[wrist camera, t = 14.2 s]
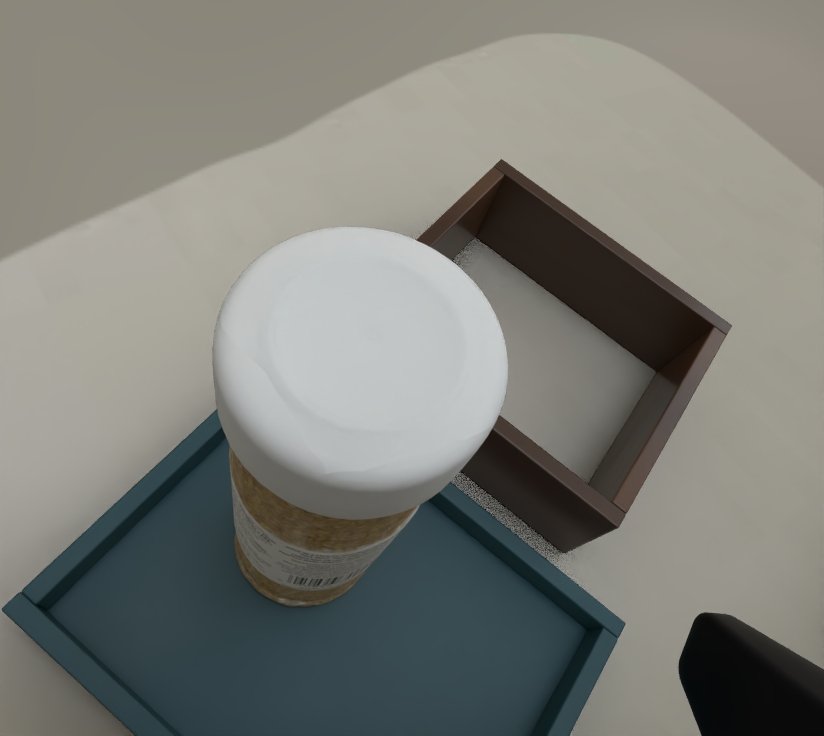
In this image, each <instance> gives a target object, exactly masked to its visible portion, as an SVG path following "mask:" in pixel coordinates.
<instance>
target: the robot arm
mask: <svg viewBox="0 0 824 736" xmlns="http://www.w3.org/2000/svg"><path fill="white" fill-rule="evenodd" d="M679 676H680V680H681V683H682V686H683V688H684V691H685V693H686V696H687V699H688V701H689V704H690V706H691V709H692V712H693V714H694V717H695V720H696V722H697V725H698V727H699V730H700V733H701V735H702V736H824V670H823V669H822V668H820V667H818V666H817V665H815V664H813V663H812V662H810V661H808V660H806V659H805V658H803V657H801V656H800V655H798V654H796V653H795V652H793V651H791V650H789V649H788V648H786V647H784V646H783V645H781V644H779V643H778V642H776V641H774V640H772V639H771V638H769V637H767V636H766V635H764V634H762V633H761V632H759V631H757V630H755V629H754V628H752V627H750V626H749V625H747V624H745V623H744V622H742V621H740V620H738V619H737V618H735V617H733V616H731V615H727V614H718V613H707V612H705V613H701V614H699V615H698V616H697V617H696V618H695V620H694V622H693V625H692V627H691V630H690V633H689V635H688V638H687V641H686V643H685V646H684V649H683V651H682V654H681V657H680V660H679Z"/></svg>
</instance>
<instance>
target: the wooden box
mask: <svg viewBox="0 0 824 736" xmlns="http://www.w3.org/2000/svg"><path fill="white" fill-rule="evenodd" d="M475 236H476V237H477V238H479V239H480V240H481V241H483V242H484V243H485V244H487V245H488V246H489V247H491V248H492V249H493V250H495V251H496V252H497V253H499V254H500V255H501V256H503V257H504V258H506V259H507V260H508V261H510V262H511V263H512V264H514V265H515V266H516V267H518V268H519V269H520V270H522V271H523V272H524V273H526V274H527V275H528V276H530V277H531V278H532V279H534V280H535V281H536V282H538V283H539V284H540V285H542V286H543V287H544V288H546V289H547V290H549V291H550V292H551V293H553V294H554V295H555V296H557V297H558V298H559V299H561V300H562V301H563V302H565V303H566V304H567V305H569V306H570V307H571V308H573V309H574V310H575V311H577V312H578V313H579V314H581V315H582V316H583V317H585V318H586V319H587V320H589V321H590V322H592V323H593V324H594V325H596V326H597V327H598V328H600V329H601V330H602V331H604V332H605V333H606V334H608V335H609V336H610V337H612V338H613V339H614V340H616V341H617V342H618V343H620V344H621V345H622V346H624V347H625V348H626V349H628V350H629V351H630V352H632V353H633V354H634V355H636V356H637V357H639V358H640V359H641V360H643V361H644V362H645V363H647V364H648V365H649V366H651V367H652V368H653V369H655V370H656V371H657V373H656V375H655V376H654V378H653V380H652V381H651V383H650V385H649V386H648V388H647V389H646V391H645V393H644V394H643V396H642V398H641V399H640V401H639V402H638V404H637V406H636V407H635V409H634V411H633V412H632V414H631V415H630V417H629V419H628V420H627V422H626V423H625V425H624V427H623V428H622V430H621V432H620V433H619V435H618V436H617V438H616V440H615V441H614V443H613V445H612V446H611V448H610V449H609V451H608V453H607V454H606V456H605V458H604V459H603V461H602V462H601V464H600V466H599V467H598V469H597V471H596V472H595V474H594V475H593V477H592V479H591V480H590V482H589V483H588V484H587V483H586V482H584V481H583V480H582V479H580V478H579V477H578V476H577V475H575V474H574V473H573V472H571V471H570V470H569V469H568V468H566V467H565V466H564V465H562V464H561V463H560V462H559V461H557V460H556V459H555V458H554V457H552V456H551V455H550V454H548V453H547V452H546V451H545V450H543V449H542V448H541V447H539V446H538V445H537V444H536V443H534V442H533V441H532V440H531V439H529V438H528V437H527V436H525V435H524V434H523V433H522V432H520V431H519V430H518V429H516V428H515V427H514V426H513V425H511V424H510V423H509V422H508V421H506V420H505V419H504V418H502V417H501V416H500V415H499V416H498V418H497V421H496V423H495V424H494V426H493V428H492V430H491V431H490V433H489V435H488V436H487V438H486V439H485V441H484V442H483V443H482V445H481V446H480V448H479V449H478V450H477V452H476V453H475V454H474V455H473V457H472V458H471V459H470V460H469V461H468V462H467V464H466V465H465V466H464V467H463V468H462V470H461V471H462V472H463V473H465V474H466V475H467V476H468V477H469V478H471V479H472V480H473V481H474V482H476V483H477V484H478V485H479V486H481V487H482V488H483V489H484V490H486V491H487V492H488V493H489V494H491V495H492V496H493V497H494V498H496V499H497V500H498V501H499V502H501V503H502V504H503V505H504V506H506V507H507V508H508V509H509V510H511V511H512V512H513V513H514V514H516V515H517V516H518V517H519V518H521V519H522V520H523V521H524V522H526V523H527V524H528V525H529V526H531V527H532V528H533V529H534V530H536V531H537V532H538V533H539V534H541V535H542V536H543V537H544V538H546V539H547V540H548V541H549V542H551V543H552V544H553V545H554V546H555V547H557V548H558V549H559V550H560V551H562V552H563V553H566V552H568V551H571V550H573V549H575V548H577V547H579V546H581V545H583V544H585V543H587V542H590V541H592V540H594V539H596V538H598V537H600V536H602V535H604V534H606V533H609V532H611V531H613V530H615V529H617V528H619V526H620V524H621V523H622V521H623V519H624V517H625V514H626V513H627V512H628V510H629V508H630V507H631V505H632V503H633V501H634V499H635V498H636V496H637V494H638V492H639V491H640V489H641V487H642V485H643V483H644V482H645V480H646V478H647V476H648V474H649V473H650V471H651V469H652V467H653V466H654V464H655V462H656V460H657V458H658V457H659V455H660V453H661V451H662V449H663V448H664V446H665V444H666V442H667V441H668V439H669V437H670V435H671V433H672V432H673V430H674V428H675V426H676V425H677V423H678V421H679V419H680V417H681V416H682V414H683V412H684V410H685V408H686V407H687V405H688V403H689V401H690V400H691V398H692V396H693V394H694V392H695V391H696V389H697V387H698V385H699V383H700V382H701V380H702V378H703V376H704V375H705V373H706V371H707V369H708V367H709V366H710V364H711V362H712V360H713V358H714V357H715V355H716V353H717V351H718V350H719V348H720V346H721V344H722V342H723V341H724V339H725V337H726V335H727V334H728V332H729V330H730V328H731V327H732V325H731V324H729V323H728V322H727V321H725V320H724V319H722V318H721V317H720V316H718V315H717V314H716V313H714V312H713V311H711V310H710V309H709V308H707V307H706V306H704V305H703V304H702V303H700V302H699V301H698V300H696V299H695V298H693V297H692V296H691V295H689V294H688V293H686V292H685V291H684V290H682V289H681V288H680V287H678V286H677V285H675V284H674V283H673V282H671V281H670V280H668V279H667V278H666V277H664V276H663V275H661V274H660V273H659V272H657V271H656V270H655V269H653V268H652V267H650V266H649V265H648V264H646V263H645V262H643V261H642V260H641V259H639V258H638V257H637V256H635V255H634V254H632V253H631V252H630V251H628V250H627V249H625V248H624V247H623V246H621V245H620V244H619V243H617V242H616V241H614V240H613V239H612V238H610V237H609V236H607V235H606V234H605V233H603V232H602V231H601V230H599V229H598V228H596V227H595V226H594V225H592V224H591V223H589V222H588V221H587V220H585V219H584V218H582V217H581V216H580V215H578V214H577V213H576V212H574V211H573V210H571V209H570V208H569V207H567V206H566V205H564V204H563V203H562V202H560V201H559V200H558V199H556V198H555V197H553V196H552V195H551V194H549V193H548V192H546V191H545V190H544V189H542V188H541V187H540V186H538V185H537V184H535V183H534V182H533V181H531V180H530V179H528V178H527V177H526V176H524V175H523V174H522V173H520V172H519V171H517V170H516V169H515V168H513V167H512V166H510V165H509V164H508V163H506V162H505V161H504V160H502V159H501V160H500V161H499V162H498V163H497V164H496V165H495V166H494V167H493V168H492V169H491V170H490V171H489V172H487V173H486V174H485V175H484V176H483V177H482V178H481V179H480V180H479V181H478V182H477V183H476V184H475V185H474V186H473V187H472V188H471V189H470V190H468V191H467V192H466V193H465V194H464V195H463V196H462V197H461V198H460V199H459V200H458V201H457V202H456V203H455V204H454V205H453V206H452V207H451V208H450V209H448V210H447V211H446V212H445V213H444V214H443V215H442V216H441V217H440V218H439V219H438V220H437V221H436V222H435V223H434V224H433V225H432V226H431V227H430V228H428V229H427V230H426V231H425V232H424V233H423V234H422V235H421V236H420V237H419V238H418V239H417V240H416V241H418V242H421V243H423V244H425V245H427V246H429V247H431V248H433V249H434V250H436V251H438V252H439V253H441V254H442V255H444V256H445V257H447V258H448V259H449V260H451V261H452V259H453V258H454V257H455V256H456V255H457V254H458V253H459V252H460V251H461V250H462V249H463V248H464V247H465V246H466V245H467V244H468V243H469V242H470V241H471V240H472V239H473V238H474V237H475Z"/></svg>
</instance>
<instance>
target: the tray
mask: <svg viewBox="0 0 824 736" xmlns="http://www.w3.org/2000/svg"><path fill="white" fill-rule="evenodd" d="M229 452H230V445H229V442H228V440H227V438H226V435H225V433H224V431H223V428H222V425H221V422H220V419H219V416H218V412H217V410H216V411H214V412H213V413H212V414H211V415H210V416H209V417H208V418H207V419H206V420H205V421H204V422H203V423H202V424H200V425H199V426H198V427H197V428H196V429H195V430H194V431H193V432H192V433H191V434H190V435H189V436H188V437H186V438H185V439H184V440H183V441H182V442H181V443H180V444H179V445H178V446H177V447H176V448H175V449H174V450H172V451H171V452H170V453H169V454H168V455H167V456H166V457H165V458H164V459H163V460H162V461H161V462H160V463H158V464H157V465H156V466H155V467H154V468H153V469H152V470H151V471H150V472H149V473H148V474H147V475H146V476H144V477H143V478H142V479H141V480H140V481H139V482H138V483H137V484H136V485H135V486H134V487H133V488H132V489H130V490H129V491H128V492H127V493H126V494H125V495H124V496H123V497H122V498H121V499H120V500H119V501H118V502H116V503H115V504H114V505H113V506H112V507H111V508H110V509H109V510H108V511H107V512H106V513H105V514H104V515H102V516H101V517H100V518H99V519H98V520H97V521H96V522H95V523H94V524H93V525H92V526H91V527H90V528H88V529H87V530H86V531H85V532H84V533H83V534H82V535H81V536H80V537H79V538H78V539H77V540H76V541H74V542H73V543H72V544H71V545H70V546H69V547H68V548H67V549H66V550H65V551H64V552H63V553H62V554H60V555H59V556H58V557H57V558H56V559H55V560H54V561H53V562H52V563H51V564H50V565H49V566H48V567H46V568H45V569H44V570H43V571H42V572H41V573H40V574H39V575H38V576H37V577H36V578H35V579H34V580H32V581H31V582H30V583H29V584H28V585H27V586H26V587H25V588H24V589H23V590H22V593H21V592H20V593H18V594H17V595H16V596H15V597H14V598H13V599H12V600H11V601H9V602H8V603H7V604H6V605H5V606H4V607H3V608H2V611H3V612H4V613H5V614H6V615H7V616H8V617H9V618H10V619H12V620H13V621H14V622H15V623H16V624H17V625H18V626H19V627H20V628H21V629H22V630H23V631H24V632H25V633H26V634H28V635H29V636H30V637H31V638H32V639H33V640H34V641H35V642H36V643H37V644H38V645H39V646H40V647H41V648H42V649H44V650H45V651H46V652H47V653H48V654H49V655H50V656H51V657H52V658H53V659H54V660H55V661H56V662H57V663H58V664H60V665H61V666H62V667H63V668H64V669H65V670H66V671H67V672H68V673H69V674H70V675H71V676H72V677H73V678H74V679H76V680H77V681H78V682H79V683H80V684H81V685H82V686H83V687H84V688H85V689H86V690H87V691H88V692H89V693H90V694H92V695H93V696H94V697H95V698H96V699H97V700H98V701H99V702H100V703H101V704H102V705H103V706H104V707H105V708H106V709H108V710H109V711H110V712H111V713H112V714H113V715H114V716H115V717H116V718H117V719H118V720H119V721H120V722H121V723H122V724H124V725H125V726H126V727H127V728H128V729H129V730H130V731H131V732H132V733H133V734H134V735H135V736H569V735H570V733H571V731H572V729H573V727H574V725H575V723H576V721H577V719H578V717H579V715H580V713H581V711H582V709H583V707H584V705H585V703H586V701H587V699H588V697H589V695H590V694H591V692H592V690H593V688H594V686H595V684H596V682H597V680H598V678H599V676H600V674H601V672H602V670H603V668H604V666H605V664H606V662H607V660H608V658H609V656H610V654H611V652H612V650H613V648H614V646H615V644H616V642H617V638H618V637H619V636H620V634H621V632H622V630H623V628H624V626H625V622H623V621H622V620H621V619H620V618H618V617H617V616H616V615H615V614H613V613H612V612H611V611H610V610H608V609H607V608H606V607H605V606H604V605H602V604H601V603H600V602H599V601H597V600H596V599H595V598H594V597H592V596H591V595H590V594H589V593H587V592H586V591H585V590H584V589H582V588H581V587H580V586H579V585H578V584H576V583H575V582H574V581H573V580H571V579H570V578H569V577H568V576H566V575H565V574H564V573H563V572H561V571H560V570H559V569H558V568H556V567H555V566H554V565H553V564H551V563H550V562H549V561H548V560H547V559H545V558H544V557H543V556H542V555H540V554H539V553H538V552H537V551H535V550H534V549H533V548H532V547H530V546H529V545H528V544H527V543H525V542H524V541H523V540H522V539H521V538H519V537H518V536H517V535H516V534H514V533H513V532H512V531H511V530H509V529H508V528H507V527H506V526H504V525H503V524H502V523H501V522H499V521H498V520H497V519H496V518H494V517H493V516H492V515H491V514H490V513H488V512H487V511H486V510H485V509H483V508H482V507H481V506H480V505H478V504H477V503H476V502H475V501H473V500H472V499H471V498H470V497H468V496H467V495H466V494H465V493H464V492H462V491H461V490H460V489H459V488H457V487H456V486H455V485H454V484H452V483H451V482H449V483H448V484H447V485H446V486H445V487H444V488H443V489H442V490H441V491H440V492H438V493H437V494H436V495H434V496H433V497H432V498H430V499H429V500H427V501H425V502H424V503H422V504H420V506H419V508H418V509H417V511H416V513H415V514H414V515H413V517H412V518H411V519H410V521H409V522H408V523H407V524H406V526H405V527H404V528H403V529H402V530H401V531H400V532H399V534H398V535H397V536H396V537H395V538H394V539H393V540H392V542H391V543H390V544H389V545H388V546H387V547H386V548H385V549H384V551H383V552H382V553H381V554H380V555H379V556H378V557H377V558H376V559H375V560H374V562H373V563H372V564H371V565H370V566H369V567H368V568H367V569H366V570H365V572H364V574H363V575H362V576H361V577H360V578H359V579H358V580H357V581H356V583H355V584H354V585H353V586H352V587H351V588H350V589H349V590H348V591H347V592H346V593H344V594H343V595H341V596H339V597H337V598H335V599H334V600H332V601H330V602H328V603H325V604H322V605H313V606H309V607H301V606H296V607H292V606H287V605H283V604H280V603H277V602H275V601H273V600H271V599H269V598H267V597H265V596H264V595H262V594H261V593H260V592H258V591H257V590H256V589H255V588H254V587H253V586H252V584H251V583H250V582H249V581H248V580H247V579H246V577H245V576H244V575H243V573H242V571H241V569H240V566H239V563H238V561H237V558H236V554H235V547H234V538H235V525H234V512H233V497H232V483H231V473H230V460H229Z"/></svg>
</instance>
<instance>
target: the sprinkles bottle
mask: <svg viewBox="0 0 824 736" xmlns="http://www.w3.org/2000/svg"><path fill="white" fill-rule="evenodd" d="M212 350H213V376H214V387H215V397H216V405H217V412H218V416H219V419H220V422H221V425H222V428H223V431H224V433H225V435H226V438H227V440H228V442H229V445H230V452H229V460H230V473H231V483H232V497H233V512H234V525H235V538H234V547H235V554H236V558H237V561H238V563H239V566H240V569H241V571H242V573H243V575H244V576H245V577H246V579H247V580H248V581H249V582H250V583H251V584H252V586H253V587H254V588H255V589H256V590H257V591H258V592H260V593H261V594H262V595H264V596H265V597H267V598H269V599H271V600H273V601H275V602H277V603H280V604H283V605H287V606H292V607H296V606H301V607H309V606H313V605H322V604H325V603H328V602H330V601H332V600H334V599H335V598H337V597H339V596H341V595H343V594H344V593H346V592H347V591H348V590H349V589H350V588H351V587H352V586H353V585H354V584H355V583H356V581H357V580H358V579H359V578H360V577H361V576H362V575H363V574H364V572H365V570H366V569H367V568H368V567H369V566H370V565H371V564H372V563H373V562H374V560H375V559H376V558H377V557H378V556H379V555H380V554H381V553H382V552H383V551H384V549H385V548H386V547H387V546H388V545H389V544H390V543H391V542H392V540H393V539H394V538H395V537H396V536H397V535H398V534H399V532H400V531H401V530H402V529H403V528H404V527H405V526H406V524H407V523H408V522H409V521H410V519H411V518H412V517H413V515H414V514H415V513H416V511H417V509H418V508H419V506H420V504H422V503H424V502H425V501H427V500H429V499H430V498H432V497H433V496H434V495H436V494H437V493H438V492H440V491H441V490H442V489H443V488H444V487H445V486H446V485H447V484H448V483H449V482H450V481H451V480H452V479H453V478H454V477H456V475H457V474H458V473H459V472H460V471H461V470H462V468H463V467H464V466H465V465H466V464H467V462H468V461H469V460H470V459H471V458H472V457H473V455H474V454H475V453H476V452H477V450H478V449H479V448H480V446H481V445H482V443H483V442H484V441H485V439H486V438H487V436H488V435H489V433H490V431H491V430H492V428H493V426H494V424H495V423H496V421H497V418H498V416H499V414H500V411H501V408H502V405H503V402H504V399H505V395H506V390H507V380H508V358H507V351H506V345H505V340H504V336H503V333H502V330H501V327H500V324H499V321H498V319H497V317H496V315H495V313H494V310H493V309H492V307H491V305H490V303H489V301H488V300H487V298H486V297H485V296H484V294H483V293H482V291H481V290H480V289H479V287H478V286H477V285H476V284H475V282H474V281H473V280H472V279H471V278H470V277H469V276H468V275H467V274H466V273H465V272H464V271H463V270H462V269H461V268H459V267H458V266H457V265H456V264H455V263H453V262H452V261H451V260H449V259H448V258H447V257H445V256H444V255H442V254H441V253H439V252H438V251H436V250H434V249H433V248H431V247H429V246H427V245H425V244H423V243H421V242H418V241H416V240H414V239H411V238H409V237H407V236H404V235H401V234H398V233H394V232H391V231H386V230H380V229H374V228H368V227H333V228H325V229H319V230H314V231H310V232H307V233H304V234H301V235H297V236H295V237H292V238H290V239H287V240H285V241H283V242H281V243H279V244H278V245H276V246H274V247H273V248H271V249H269V250H268V251H266V252H265V253H263V254H262V255H261V256H259V257H258V258H257V259H256V260H254V261H253V262H252V263H251V264H250V265H249V266H248V267H247V268H246V269H245V270H244V271H243V272H242V274H241V275H240V276H239V278H238V279H237V280H236V282H235V283H234V284H233V286H232V288H231V289H230V291H229V292H228V294H227V295H226V297H225V299H224V301H223V303H222V306H221V309H220V312H219V315H218V319H217V323H216V327H215V331H214V340H213V349H212Z"/></svg>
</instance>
